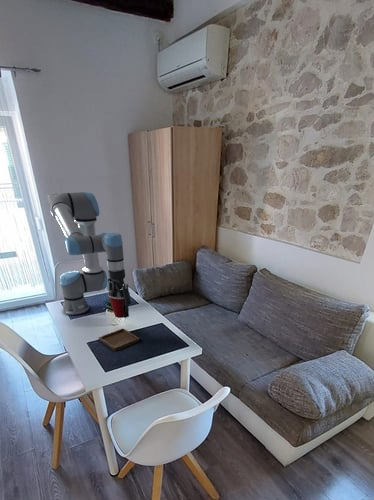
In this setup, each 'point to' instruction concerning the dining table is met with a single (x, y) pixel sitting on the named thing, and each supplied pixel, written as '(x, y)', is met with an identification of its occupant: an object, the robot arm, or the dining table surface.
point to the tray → (119, 339)
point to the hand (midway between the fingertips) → (121, 314)
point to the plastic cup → (116, 304)
